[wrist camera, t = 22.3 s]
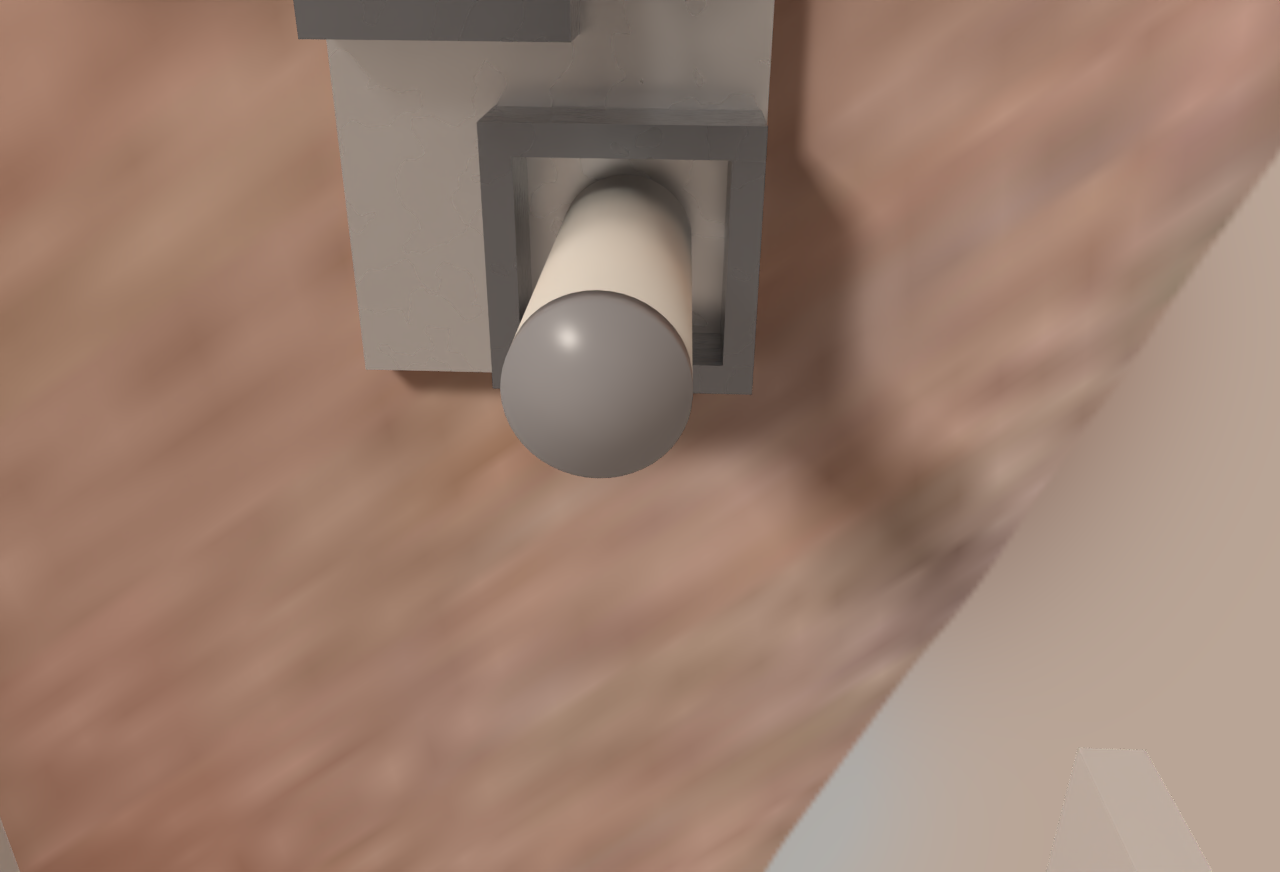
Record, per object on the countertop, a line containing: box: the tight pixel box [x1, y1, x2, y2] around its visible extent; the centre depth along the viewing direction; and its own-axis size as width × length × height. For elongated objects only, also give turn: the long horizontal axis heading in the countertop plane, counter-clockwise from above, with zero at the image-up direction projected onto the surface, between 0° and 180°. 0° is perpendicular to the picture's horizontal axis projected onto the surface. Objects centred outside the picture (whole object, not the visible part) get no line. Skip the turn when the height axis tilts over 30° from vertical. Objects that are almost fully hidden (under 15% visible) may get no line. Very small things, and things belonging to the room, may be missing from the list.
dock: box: [293, 0, 775, 395], centre depth 32 cm, size 20×14×4 cm
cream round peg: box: [500, 175, 693, 478], centre depth 29 cm, size 4×4×13 cm
